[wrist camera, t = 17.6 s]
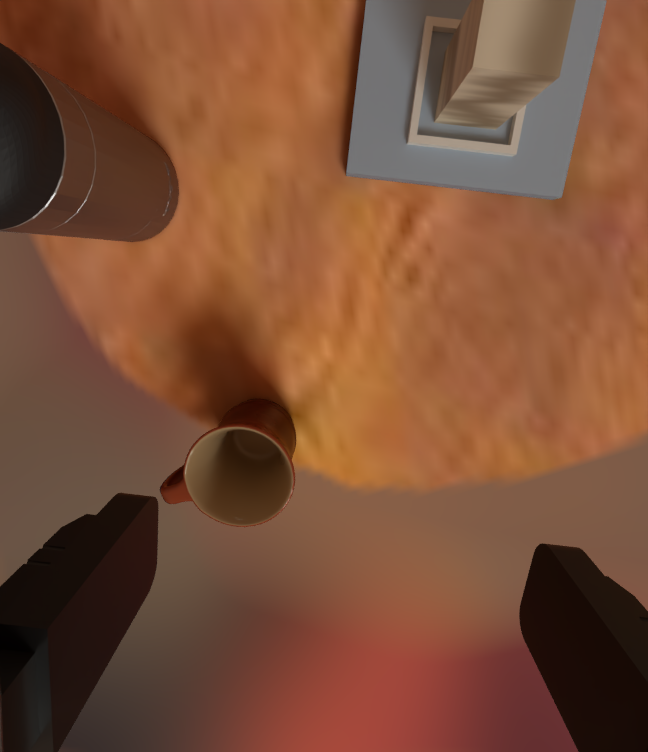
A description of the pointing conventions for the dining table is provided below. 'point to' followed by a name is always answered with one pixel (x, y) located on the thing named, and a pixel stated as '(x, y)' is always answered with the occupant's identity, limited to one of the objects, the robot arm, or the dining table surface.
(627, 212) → the dining table surface
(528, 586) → the robot arm
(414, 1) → the board
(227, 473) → the mug
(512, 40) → the pillar
